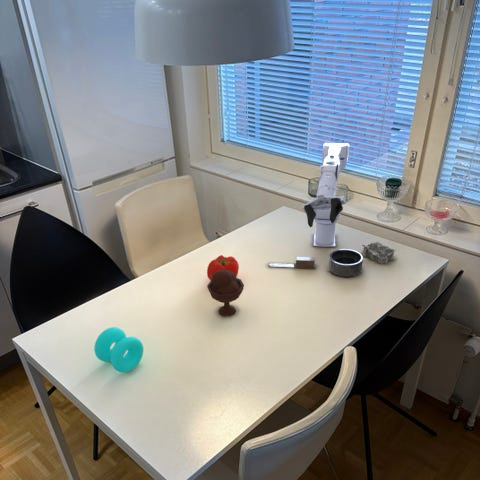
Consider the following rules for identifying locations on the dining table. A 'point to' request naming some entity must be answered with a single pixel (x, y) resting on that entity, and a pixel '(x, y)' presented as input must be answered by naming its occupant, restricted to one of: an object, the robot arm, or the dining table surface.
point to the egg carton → (378, 252)
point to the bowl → (345, 262)
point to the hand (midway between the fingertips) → (320, 223)
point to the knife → (298, 263)
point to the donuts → (118, 349)
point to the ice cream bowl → (225, 290)
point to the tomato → (222, 265)
